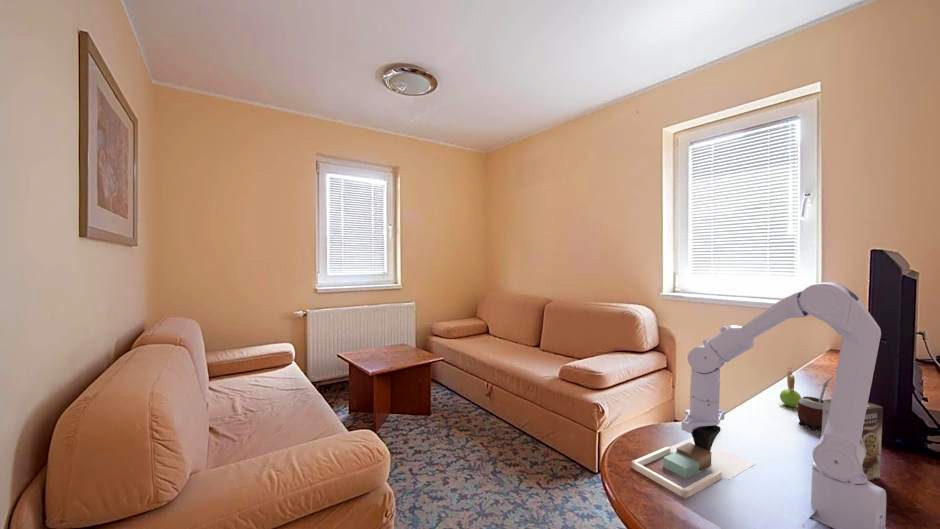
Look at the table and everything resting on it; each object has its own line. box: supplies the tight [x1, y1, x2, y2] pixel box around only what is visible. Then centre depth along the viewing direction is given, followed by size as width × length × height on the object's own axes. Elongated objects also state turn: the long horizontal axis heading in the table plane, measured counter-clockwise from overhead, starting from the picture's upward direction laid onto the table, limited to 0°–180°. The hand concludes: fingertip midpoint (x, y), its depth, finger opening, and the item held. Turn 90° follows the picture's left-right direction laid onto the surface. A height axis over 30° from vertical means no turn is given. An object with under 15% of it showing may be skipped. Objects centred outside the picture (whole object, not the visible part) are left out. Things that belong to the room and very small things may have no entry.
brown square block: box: [677, 442, 711, 473], centre depth 84 cm, size 5×5×3 cm
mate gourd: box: [797, 374, 834, 432], centre depth 106 cm, size 8×8×15 cm
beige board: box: [669, 436, 756, 480], centre depth 87 cm, size 14×12×2 cm
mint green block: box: [662, 452, 700, 479], centre depth 82 cm, size 5×5×3 cm
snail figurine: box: [779, 366, 802, 408], centre depth 122 cm, size 5×6×12 cm
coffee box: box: [820, 398, 884, 481], centre depth 84 cm, size 9×6×16 cm
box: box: [630, 446, 723, 500], centre depth 80 cm, size 12×14×3 cm
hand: (702, 455), depth 86 cm, fingers closed
